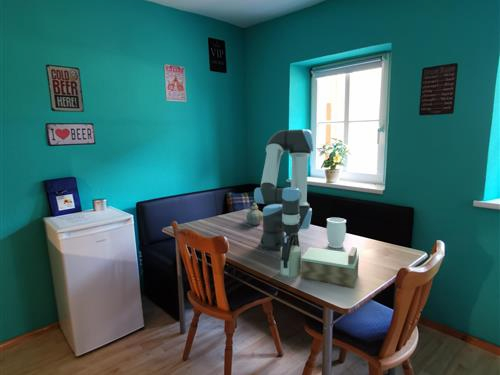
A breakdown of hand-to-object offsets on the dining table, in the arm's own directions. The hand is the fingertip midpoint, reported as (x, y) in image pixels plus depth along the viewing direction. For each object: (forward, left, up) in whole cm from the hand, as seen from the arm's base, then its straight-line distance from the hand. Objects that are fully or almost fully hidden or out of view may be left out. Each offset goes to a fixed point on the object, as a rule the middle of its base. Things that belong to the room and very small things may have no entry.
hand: (290, 268), depth 143 cm
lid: (+17, +3, +7) cm, 18 cm away
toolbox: (+17, +3, -2) cm, 17 cm away
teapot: (-48, +64, -2) cm, 80 cm away
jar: (+12, +42, -2) cm, 44 cm away
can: (0, 0, -2) cm, 2 cm away
